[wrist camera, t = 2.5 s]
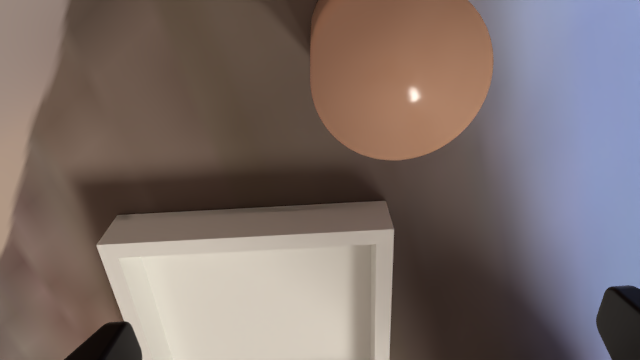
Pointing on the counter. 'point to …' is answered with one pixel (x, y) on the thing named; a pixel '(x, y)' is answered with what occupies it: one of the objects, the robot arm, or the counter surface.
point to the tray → (255, 281)
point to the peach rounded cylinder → (398, 73)
